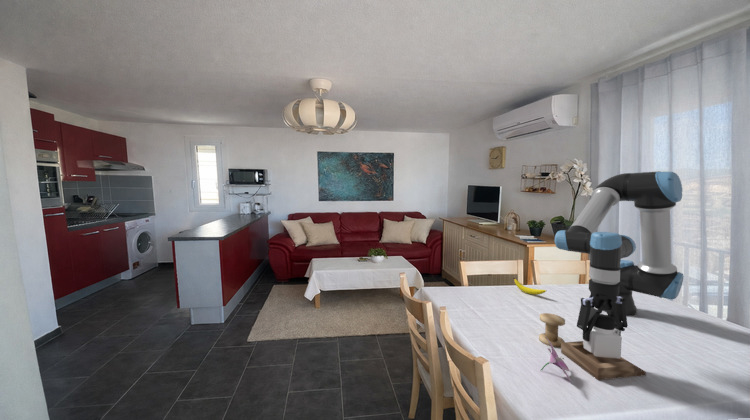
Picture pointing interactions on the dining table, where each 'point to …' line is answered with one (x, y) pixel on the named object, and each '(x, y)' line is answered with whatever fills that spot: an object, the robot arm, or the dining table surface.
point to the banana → (528, 290)
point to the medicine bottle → (606, 338)
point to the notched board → (599, 363)
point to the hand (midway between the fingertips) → (601, 348)
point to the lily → (557, 360)
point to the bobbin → (551, 329)
